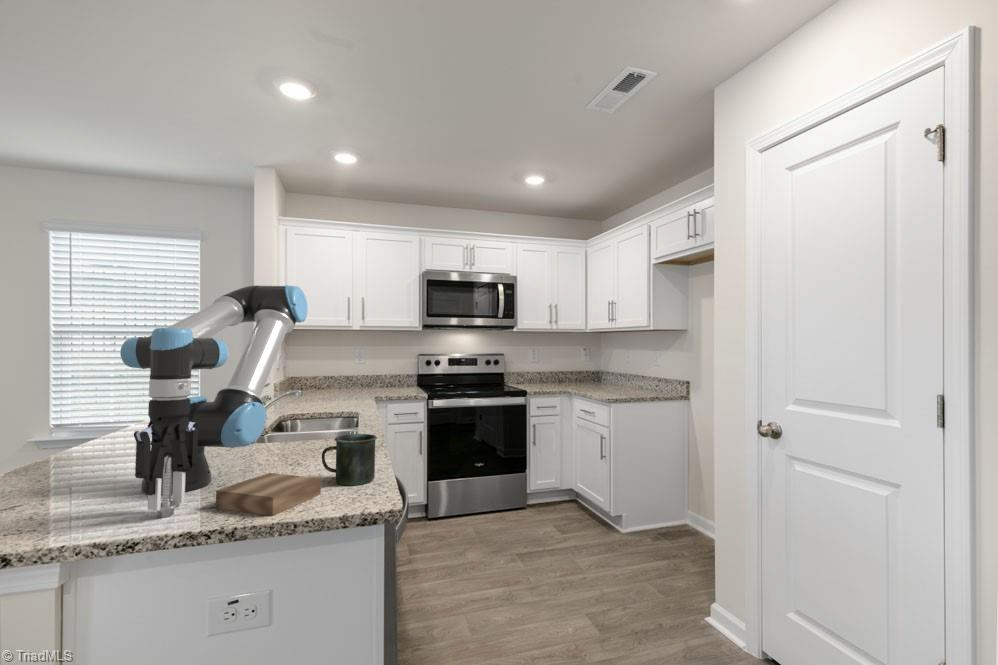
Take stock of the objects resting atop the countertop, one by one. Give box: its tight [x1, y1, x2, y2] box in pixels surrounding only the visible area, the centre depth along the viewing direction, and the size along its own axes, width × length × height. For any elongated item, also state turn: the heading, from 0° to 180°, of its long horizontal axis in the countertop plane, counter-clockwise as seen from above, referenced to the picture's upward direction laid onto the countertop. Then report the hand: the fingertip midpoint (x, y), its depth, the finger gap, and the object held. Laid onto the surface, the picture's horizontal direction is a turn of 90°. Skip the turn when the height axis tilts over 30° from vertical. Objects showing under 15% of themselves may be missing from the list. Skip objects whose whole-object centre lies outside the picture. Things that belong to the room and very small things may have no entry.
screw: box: [153, 455, 181, 519], centre depth 102 cm, size 13×5×5 cm
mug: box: [321, 433, 378, 486], centre depth 129 cm, size 11×15×12 cm
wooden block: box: [215, 472, 322, 517], centre depth 112 cm, size 16×16×4 cm
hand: (166, 505), depth 102 cm, fingers closed on screw, 5 cm apart
